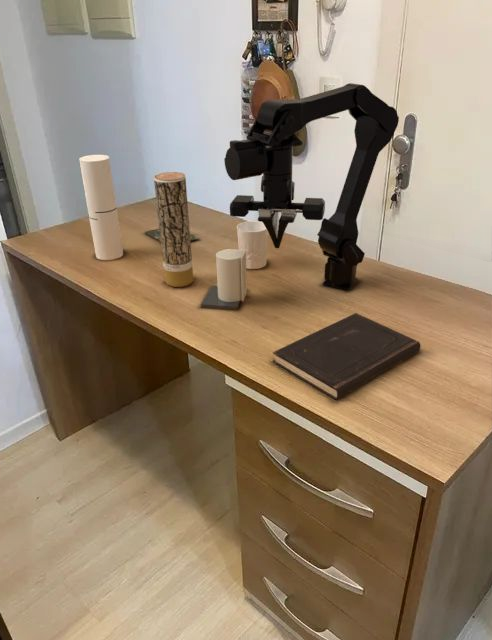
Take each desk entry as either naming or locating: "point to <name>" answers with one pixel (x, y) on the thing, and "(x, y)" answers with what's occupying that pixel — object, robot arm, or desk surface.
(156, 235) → the eiffel tower figurine
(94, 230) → the cylindrical container
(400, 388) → the desk surface
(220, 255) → the cylinder
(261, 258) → the white cup
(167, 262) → the brown bark cylinder
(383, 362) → the hardcover book
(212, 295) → the slate coaster
